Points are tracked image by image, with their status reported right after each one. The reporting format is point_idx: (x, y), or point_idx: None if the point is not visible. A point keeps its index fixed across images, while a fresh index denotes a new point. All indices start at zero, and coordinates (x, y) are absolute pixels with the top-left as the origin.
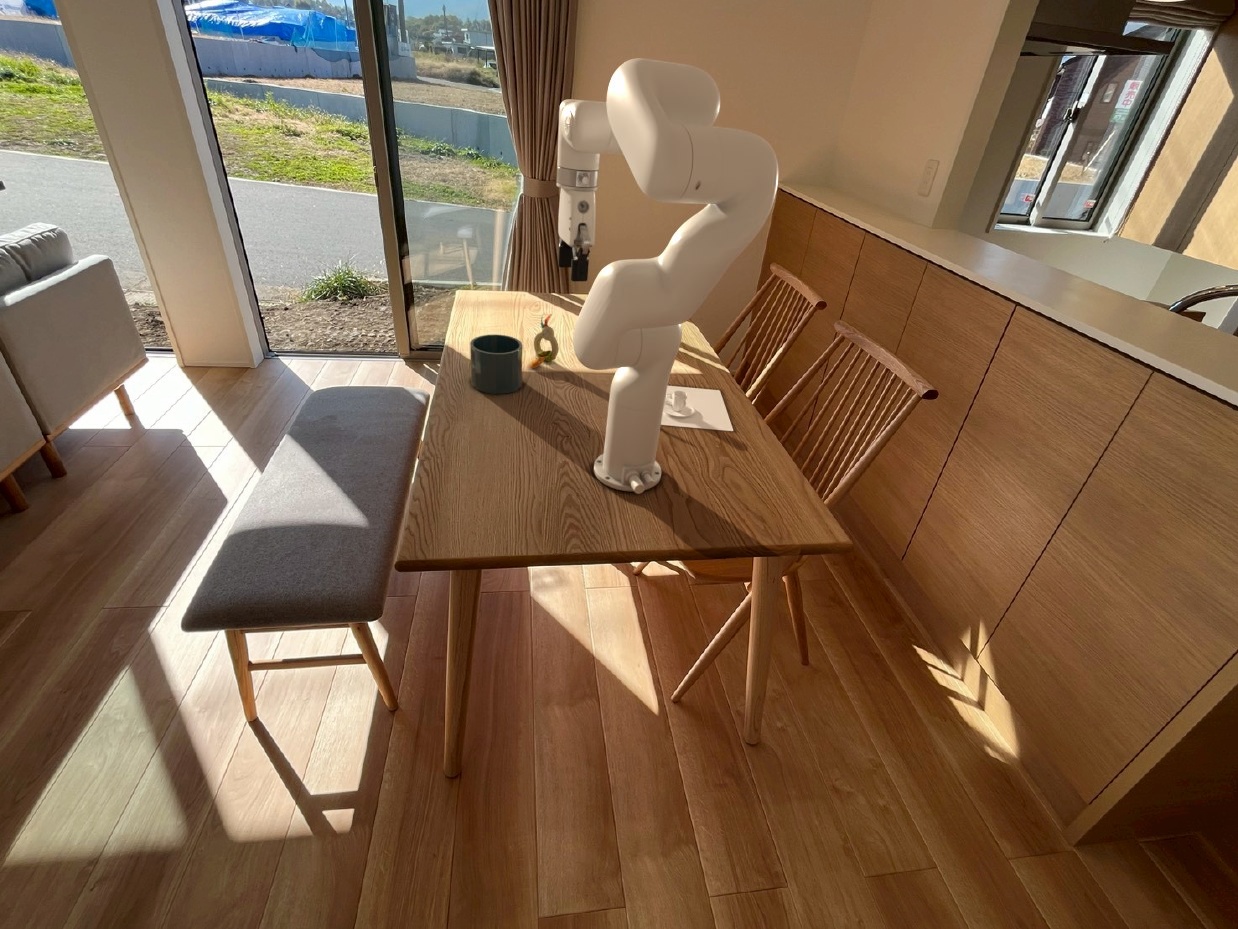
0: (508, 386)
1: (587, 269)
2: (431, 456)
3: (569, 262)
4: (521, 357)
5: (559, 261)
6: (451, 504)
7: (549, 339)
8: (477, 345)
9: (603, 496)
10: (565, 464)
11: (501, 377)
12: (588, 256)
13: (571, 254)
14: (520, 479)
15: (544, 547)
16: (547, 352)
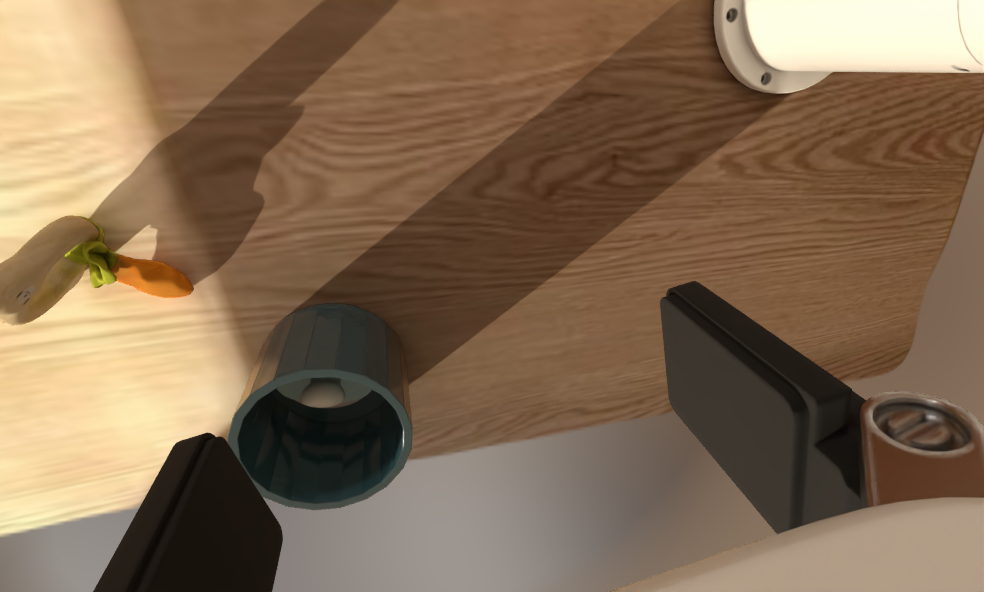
0: (392, 338)
1: (762, 333)
2: None
3: (231, 500)
4: (334, 349)
5: (269, 579)
6: (810, 347)
7: (49, 270)
8: (298, 482)
9: (858, 74)
10: (732, 161)
11: (404, 370)
12: (978, 433)
13: (189, 567)
14: (767, 251)
15: (948, 193)
16: (91, 256)
